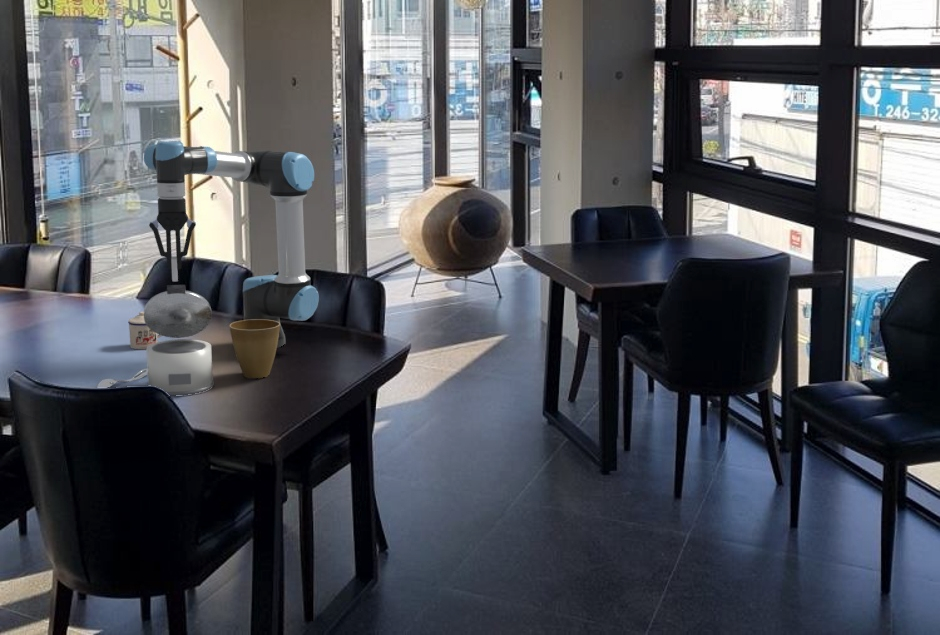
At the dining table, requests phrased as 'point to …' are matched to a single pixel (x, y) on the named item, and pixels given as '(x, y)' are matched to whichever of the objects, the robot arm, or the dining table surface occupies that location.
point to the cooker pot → (180, 366)
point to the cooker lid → (177, 312)
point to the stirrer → (111, 381)
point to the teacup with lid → (141, 333)
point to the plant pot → (255, 345)
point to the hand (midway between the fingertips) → (175, 280)
